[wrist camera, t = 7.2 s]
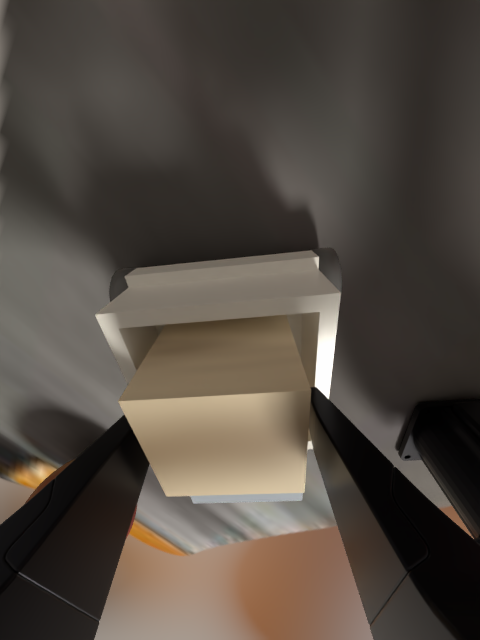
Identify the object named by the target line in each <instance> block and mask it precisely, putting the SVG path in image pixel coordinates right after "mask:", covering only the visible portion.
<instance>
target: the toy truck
mask: <svg viewBox="0 0 480 640" xmlns="http://www.w3.org/2000/svg"><path fill="white" fill-rule="evenodd" d="M341 291H342V274H341V267H340V262H339V258H338V256H337V253H336V252H335V250H334V249H333V248H320V249H311V250H310V251H300V252H290V253H280V254H271V255H261V256H251V257H241V258H231V259H222V260H212V261H202V262H192V263H182V264H172V265H163V266H153V267H143V268H141V267H134V268H124V269H119V270H117V271H116V272H115V273H114V275H113V277H112V279H111V282H110V291H109V293H110V303H109V304H107V305H106V306H105V307H104V308H102V309H101V310H100V311H99V312H97V313H96V314H95V316H96V318H97V320H98V322H99V324H100V327H101V329H102V331H103V333H104V335H105V337H106V339H107V342H108V344H109V346H110V348H111V350H112V352H113V355H114V357H115V359H116V361H117V363H118V365H119V367H120V370H121V372H122V374H123V376H124V378H125V380H126V382H127V385H128V384H129V383H130V381H131V379H132V378H133V376H134V375H135V373H136V371H137V370H138V368H139V366H140V365H141V363H142V362H143V360H144V358H145V357H146V355H147V353H148V352H149V350H150V349H151V347H152V345H153V344H154V342H155V340H156V339H157V337H158V336H159V334H160V332H161V331H162V329H163V327H164V326H165V325H167V324H179V323H191V322H203V321H215V320H227V319H239V318H251V317H263V316H276V315H286V316H287V319H288V322H289V325H290V328H291V331H292V334H293V337H294V340H295V343H296V346H297V349H298V352H299V355H300V358H301V361H302V364H303V367H304V370H305V373H306V376H307V379H308V382H309V385H310V387H317V388H318V389H319V390H320V391H321V392H322V393H323V394H324V395H325V396H326V397H327V398H328V399H329V393H330V384H331V376H332V367H333V358H334V349H335V341H336V332H337V323H338V315H339V306H340V298H341ZM308 449H313V445H312V441H311V436H310V431H308V446H307V450H308ZM302 494H303V493H281V494H243V495H205V496H190V497H191V499H192V501H193V503H231V502H270V501H302Z"/></svg>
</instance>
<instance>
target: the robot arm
mask: <svg viewBox="0 0 480 640" xmlns="http://www.w3.org/2000/svg"><path fill="white" fill-rule="evenodd" d="M310 388H311V401H310V416H309V431H310V436H311V441H312V445H313V449H314V453H315V456H316V459H317V463H318V466H319V469H320V472H321V475H322V478H323V481H324V485H325V488H326V491H327V494H328V497H329V500H330V503H331V507H332V510H333V513H334V516H335V519H336V522H337V525H338V529H339V532H340V535H341V538H342V541H343V544H344V547H345V551H346V554H347V556H348V560H349V563H350V566H351V569H352V573H353V576H354V579H355V582H356V585H357V588H358V591H359V595H360V598H361V601H362V604H363V607H364V610H365V613H366V617H367V620H368V623H369V624H370V629H371V633H372V636H373V639H374V640H480V399H473V400H454V401H435V402H422V403H420V404H418V405H417V406H416V408H415V410H414V413H413V415H412V418H411V421H410V423H409V426H408V428H407V431H406V434H405V436H404V439H403V441H402V444H401V447H400V449H399V452H398V454H399V456H400V458H401V459H402V460H405V461H408V460H422V461H423V462H424V464H425V465H426V467H427V468H428V470H429V471H430V473H431V474H432V476H433V477H434V479H435V480H436V482H437V483H438V485H439V487H440V488H441V490H442V491H443V493H444V494H445V496H446V497H447V499H448V500H449V502H450V503H451V505H452V506H453V508H454V509H455V511H456V512H457V514H458V515H459V517H460V518H461V520H462V521H463V523H464V524H465V526H466V527H467V529H468V530H469V532H470V533H471V535H472V536H473V538H474V539H473V538H471V536H469V535H468V534H467V533H466V532H465V531H464V530H462V529H461V528H460V527H459V526H458V525H457V524H456V523H454V522H453V521H452V520H451V519H450V518H449V517H448V516H447V515H445V514H444V513H443V512H442V511H441V510H440V509H439V508H438V507H437V506H436V505H434V504H433V503H432V502H431V501H430V500H429V499H428V498H427V497H426V496H425V495H424V494H422V493H421V492H420V491H419V490H418V489H417V488H416V487H415V486H414V485H413V484H412V483H411V482H410V481H409V480H408V479H407V478H406V477H405V476H404V475H403V474H402V473H401V472H400V471H399V470H398V469H397V468H396V467H394V465H393V464H392V463H391V462H390V461H389V460H388V459H387V458H386V457H385V456H384V455H383V454H382V453H381V452H380V451H379V450H378V449H377V448H376V447H375V446H374V445H373V444H372V443H371V442H370V441H369V440H368V439H367V438H366V437H365V436H364V435H363V434H362V433H361V432H360V431H359V430H358V429H357V427H356V426H355V425H354V424H353V423H352V422H351V421H350V420H349V419H348V418H347V417H346V416H345V415H344V414H343V413H342V412H341V411H340V410H339V409H338V408H337V407H336V406H335V405H334V404H333V403H332V402H331V401H330V400H329V399H328V398H327V397H326V396H325V395H324V394H323V393H322V392H321V391H320V390H319V389H318V388H317V387H310ZM149 464H150V463H149V461H148V459H147V457H146V455H145V453H144V451H143V449H142V447H141V445H140V443H139V441H138V439H137V437H136V435H135V433H134V432H133V430H132V428H131V426H130V424H129V422H128V420H127V418H126V416H125V414H124V415H123V416H122V417H121V418H120V419H119V420H118V421H117V422H116V423H115V424H113V425H112V426H111V427H110V428H109V429H108V430H107V431H106V432H105V433H103V434H102V435H101V436H100V437H99V438H98V439H97V440H96V441H95V442H94V443H92V444H91V445H90V446H89V447H88V448H87V449H86V450H85V451H84V452H82V453H81V454H80V455H79V456H78V457H77V458H76V459H75V460H74V461H73V462H71V463H70V464H69V465H68V466H67V467H66V468H65V469H64V470H63V471H61V472H60V473H59V474H58V475H57V476H56V477H55V479H53V480H51V481H50V482H49V483H48V484H47V485H46V486H45V487H44V488H43V489H41V490H40V491H39V492H38V493H37V494H36V495H35V496H34V497H32V498H31V499H30V500H29V501H28V502H27V503H26V504H24V505H23V506H22V507H21V508H20V509H19V510H17V511H16V512H15V513H14V514H13V515H11V516H10V517H9V518H8V519H7V520H5V521H4V522H3V523H2V524H1V525H0V640H94V638H95V635H96V632H97V629H98V625H99V620H100V619H101V615H102V612H103V609H104V606H105V603H106V600H107V596H108V593H109V590H110V587H111V584H112V580H113V578H114V574H115V571H116V568H117V565H118V562H119V559H120V555H121V552H122V549H123V546H124V543H125V540H126V536H127V533H128V530H129V527H130V524H131V521H132V518H133V514H134V511H135V508H136V505H137V502H138V499H139V495H140V492H141V489H142V486H143V483H144V480H145V476H146V473H147V470H148V467H149Z"/></svg>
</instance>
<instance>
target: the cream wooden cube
mask: <svg viewBox="0 0 480 640" xmlns="http://www.w3.org/2000/svg"><path fill="white" fill-rule="evenodd" d="M310 401H311V388H310V385H309V382H308V379H307V376H306V373H305V370H304V367H303V364H302V361H301V358H300V355H299V352H298V349H297V346H296V343H295V340H294V337H293V334H292V331H291V328H290V325H289V322H288V319H287V316H286V315H276V316H263V317H251V318H239V319H227V320H215V321H203V322H191V323H179V324H167V325H165V326H164V327H163V329H162V331H161V332H160V334H159V336H158V337H157V339H156V340H155V342H154V344H153V345H152V347H151V349H150V350H149V352H148V353H147V355H146V357H145V358H144V360H143V362H142V363H141V365H140V366H139V368H138V370H137V371H136V373H135V375H134V376H133V378H132V379H131V381H130V383H129V384H128V386H127V388H126V389H125V391H124V392H123V394H122V396H121V397H120V399H119V401H118V402H119V404H120V406H121V408H122V410H123V412H124V414H125V416H126V418H127V420H128V422H129V424H130V426H131V428H132V430H133V432H134V433H135V435H136V437H137V439H138V441H139V443H140V445H141V447H142V449H143V451H144V453H145V455H146V457H147V459H148V461H149V463H150V465H151V467H152V469H153V471H154V473H155V475H156V477H157V478H158V480H159V482H160V484H161V486H162V488H163V490H164V492H165V494H166V496H205V495H243V494H281V493H304V492H305V477H306V462H307V446H308V431H309V416H310Z"/></svg>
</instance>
